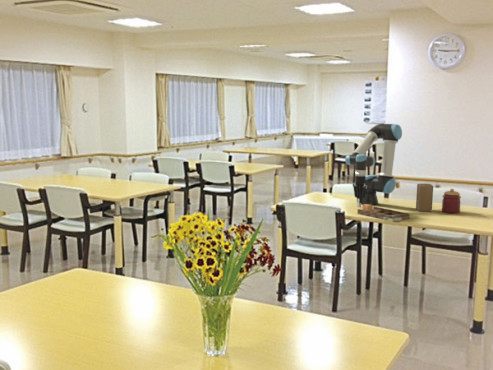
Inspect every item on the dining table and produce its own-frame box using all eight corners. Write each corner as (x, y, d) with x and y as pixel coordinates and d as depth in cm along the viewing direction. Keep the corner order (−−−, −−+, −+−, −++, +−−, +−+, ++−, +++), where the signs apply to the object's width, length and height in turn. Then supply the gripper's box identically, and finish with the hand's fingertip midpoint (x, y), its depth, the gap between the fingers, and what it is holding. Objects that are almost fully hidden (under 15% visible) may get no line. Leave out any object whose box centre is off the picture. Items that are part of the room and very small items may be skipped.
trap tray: (357, 213, 388) (357, 209, 388) (373, 211, 399) (374, 206, 398) (392, 221, 362) (392, 216, 362) (409, 218, 373) (409, 213, 372)
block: (428, 209, 406) (430, 183, 403) (432, 212, 396) (433, 185, 393) (415, 209, 407) (416, 183, 404) (418, 211, 397) (419, 185, 394)
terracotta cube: (362, 211, 387) (362, 204, 386) (367, 210, 390) (367, 203, 389) (367, 212, 383) (368, 205, 382) (372, 211, 386) (372, 204, 385)
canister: (447, 214, 389) (449, 190, 386) (438, 210, 402) (439, 187, 399) (463, 213, 391) (465, 189, 389) (453, 210, 404) (455, 187, 401)
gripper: (350, 174, 392) (349, 206, 396) (363, 176, 382) (362, 209, 385) (357, 174, 397) (356, 205, 400) (370, 176, 386) (369, 208, 390)
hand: (359, 207), depth 393 cm, fingers closed
